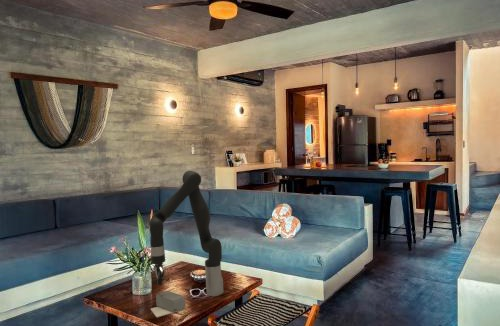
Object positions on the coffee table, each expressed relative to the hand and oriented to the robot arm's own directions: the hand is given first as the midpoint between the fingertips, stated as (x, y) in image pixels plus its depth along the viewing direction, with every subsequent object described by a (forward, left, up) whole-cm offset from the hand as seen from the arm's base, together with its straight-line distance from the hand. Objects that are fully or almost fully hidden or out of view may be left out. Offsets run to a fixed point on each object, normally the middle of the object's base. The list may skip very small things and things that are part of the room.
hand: (159, 284), depth 212 cm
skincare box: (-1, -3, -9) cm, 10 cm away
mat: (-1, +6, -12) cm, 14 cm away
